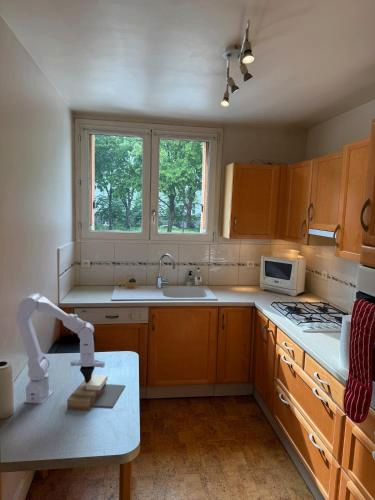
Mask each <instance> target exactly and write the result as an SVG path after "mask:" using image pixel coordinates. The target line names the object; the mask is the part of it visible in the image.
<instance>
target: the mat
mask: <svg viewBox="0 0 375 500" xmlns="http://www.w3.org/2000/svg"><path fill="white" fill-rule="evenodd" d="M125 388H126V385H124V384H109V383H106V386H105V388H104V389H103V390H102V392H101V393H100V395H99V396H98V397H97V399H96V400H95V402H94V403H93V404H92V407H94V408H96V407H97V408H106V409H107V408H110V409H113V407H114V406H115V404H116V402H117V401H118V400H119V397H120V396H121V394H122V393H123V391H124V389H125Z"/></svg>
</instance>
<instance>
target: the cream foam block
mask: <svg viewBox="0 0 375 500" xmlns="http://www.w3.org/2000/svg"><path fill="white" fill-rule="evenodd" d="M91 377H92V378H91V380H90V381H89V382H88V383H87V384H86V389H88V390H101V388H102V387H103V386H104V384H105V383H106V384H107V381H108V380H109V379H108V375H107V374H106V375H102V374H94V375H93V376H91Z"/></svg>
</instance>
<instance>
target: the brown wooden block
mask: <svg viewBox="0 0 375 500" xmlns="http://www.w3.org/2000/svg"><path fill="white" fill-rule="evenodd" d="M92 377H93V376H91V378H92ZM86 384H87V383H86V382H85V378H84V380H82V382H80V384H79V385H78V386H77V387H76V389H75V390H74V391H73V392H72V393H71V395H70V396H69V397H68V398H67V399H66V404H67V405H66V407H67V410H74V411H75V410H76V411H86V412H87V411H89V412H90V410H91V409H92V407H93V406H92V404H93V403H94V402H95V400H96V399H97V397H98V396H99V395H100V393H101V392H102V390H103V389H104V388H105V386H106V385H107V382H106V383H105V384H104V386H103V387H102V388H101V390H88V389H86Z"/></svg>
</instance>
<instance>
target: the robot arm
mask: <svg viewBox="0 0 375 500" xmlns="http://www.w3.org/2000/svg"><path fill="white" fill-rule="evenodd" d="M17 306H18V307H17V311H16V312H17V313H16V316H15V320H16V324H17V328H18V330H19V333H20V336H21V338H22V342H23V346H24V348H25V351H26V355H27V357H28V360H27V367H28V370H27V371H28V372H27V376H28V377H29V382H28V383H27V385H26V387H25V397H26V399H25V400H24V403H26V404H27V403H28V404H29V403H30V404H44V402H46V401H47V400H48V398H49V397H51V395H53V394H54V392H55V391H54V390H50V378H49V377H50V374H49V371H48V368H50V364H51V363H50V361H49V359H48V358H47V357H46V355H45V353H44V352H42V350H41V346H40V344H39V341H38V340H39V339H38V337H37V334H36V330H35V328H34V324H33V321H32V317H33V314H34V312H35V311H36V313H44V312H46V313H48V314H49V315H52V316H53V317H55V318H57V319H58V320H60V321H62V324H63V326H64V327H65V328H67V329H68V330H71V332H73V333H74V334H77V337H78V338H79V341H80V342H79V355H80V357H79V358H80V359H73V360H71V361H70V367H74V366H75V367H80V368H79V371H80V373H81V374H82V376H83V378H84V379H85V382H86V383H88V382H89V381H90V380H91V377H93V376H92V375H93V372H94V371H95V368H101V369H103V368H104V367H105V361H100V360H97V359H95V341H94V332H95V327H94V325H93V323H91V322H88V321H87V320H85V321H84V320H82V319H81V318H79V317H78V314H76V313H75V314H74V313H66V312H65V311H64V310H62V309H61V308H59V307H58V306H57V305H56V304H54V302H51V301H50V300H49V299H48V298H47V297H45V296H43V295H41V294H40V293H39V292H38V293H37V292H33V293H30V294H29V295H28V296H26V297H25V298H23V299H22V301H20V302H19V304H18V305H17Z"/></svg>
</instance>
